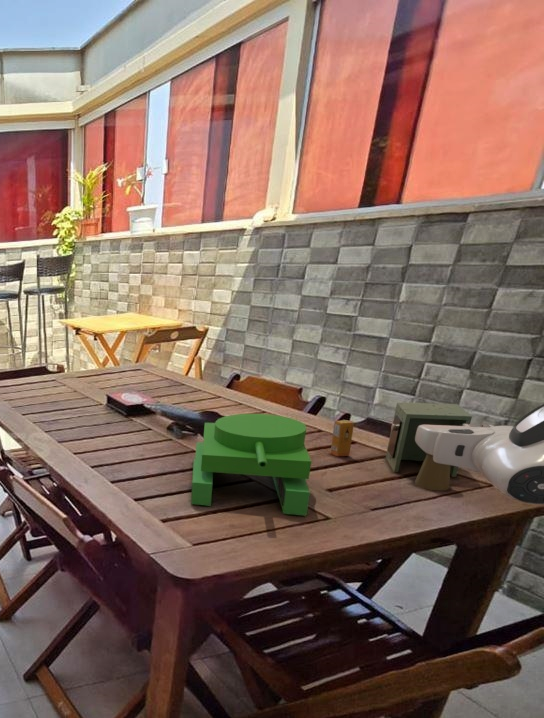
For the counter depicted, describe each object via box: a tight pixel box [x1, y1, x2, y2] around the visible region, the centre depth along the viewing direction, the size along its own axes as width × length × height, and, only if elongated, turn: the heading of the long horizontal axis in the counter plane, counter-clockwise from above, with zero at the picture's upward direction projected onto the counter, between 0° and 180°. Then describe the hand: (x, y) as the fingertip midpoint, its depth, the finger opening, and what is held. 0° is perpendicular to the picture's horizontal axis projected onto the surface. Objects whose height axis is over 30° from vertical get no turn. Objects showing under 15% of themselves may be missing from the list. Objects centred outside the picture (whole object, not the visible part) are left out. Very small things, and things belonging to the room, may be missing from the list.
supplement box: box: [330, 419, 355, 458], centre depth 139 cm, size 3×4×10 cm
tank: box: [190, 413, 312, 517], centre depth 124 cm, size 24×35×16 cm
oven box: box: [385, 402, 473, 478], centre depth 126 cm, size 13×11×16 cm
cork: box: [414, 453, 451, 491], centre depth 117 cm, size 6×6×11 cm
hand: (475, 427), depth 99 cm, fingers closed
